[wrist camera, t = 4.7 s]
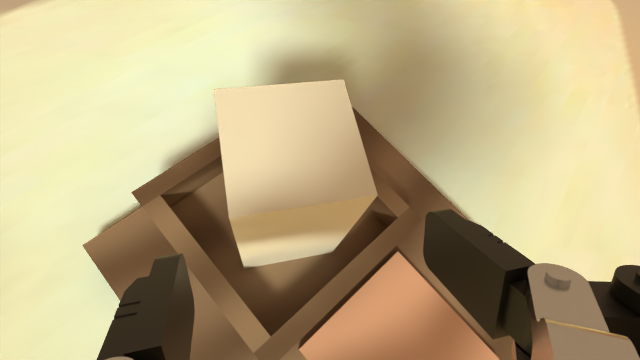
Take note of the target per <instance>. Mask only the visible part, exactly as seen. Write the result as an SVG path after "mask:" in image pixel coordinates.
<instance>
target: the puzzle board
mask: <svg viewBox="0 0 640 360" xmlns="http://www.w3.org/2000/svg"><path fill="white" fill-rule="evenodd" d="M352 109H353V113H354V116H355V119H356V123H357V126H358V130H359V133H360V136H361V140H362V143H363V147H364V150H365V153H366V157H367V160H368V164H369V167H370V170H371V174H372V177H373V181H374V184H375V187H376V191H377V194H378V195H377V197H376V198H375V199H374V200H373V202H372V203H371V204H370V206H369V207H368V208H367V209H366V211H365V212H364V213H363V214H362V216H361V217H360V218H359V219H358V221H357V222H356V223H355V224H354V226H353V227H352V228H351V229H350V231H349V232H348V233H347V234H346V236H345V237H344V238H343V239H342V241H341V242H340V243H339V244H338V246H337V247H336V248H335V250H334V251H333V252H331V253H326V254H321V255H315V256H310V257H305V258H299V259H294V260H289V261H283V262H278V263H273V264H267V265H262V266H257V267H251V268H246V269H244V266H243V263H242V260H241V256H240V253H239V250H238V247H237V243H236V240H235V237H234V233H233V230H232V227H231V223H230V220H229V214H228V206H227V197H226V189H225V181H224V172H223V164H222V155H221V147H220V139H219V138H218V139H216V140H215V141H213V142H211V143H210V144H208V145H207V146H205V147H203V148H202V149H200V150H199V151H197V152H195V153H194V154H192V155H191V156H189V157H187V158H186V159H184V160H183V161H181V162H179V163H178V164H176V165H175V166H173V167H171V168H170V169H168V170H167V171H165V172H163V173H162V174H160V175H159V176H157V177H155V178H154V179H152V180H151V181H149V182H147V183H146V184H144V185H143V186H141V187H139V188H138V189H136V190H135V191H133V192H131V193H132V194H133V195H134V196H135V198H136V199H137V200H138V202H139V203H140V204H141V206H142V207H141V208H139V209H138V210H136V211H135V212H133V213H132V214H130V215H129V216H127V217H126V218H124V219H122V220H121V221H119V222H118V223H116V224H115V225H113V226H112V227H110V228H109V229H107V230H105V231H104V232H102V233H101V234H99V235H98V236H96V237H95V238H93V239H92V240H90V241H89V242H87V243H85V244H84V245H82V246H83V247H84V248H85V250H86V251H87V253H88V254H89V256H90V257H91V259H92V260H93V262H94V263H95V264H96V266H97V267H98V269H99V270H100V272H101V273H102V275H103V276H104V278H105V279H106V281H107V282H108V283H109V285H110V286H111V288H112V289H113V291H114V292H115V294H116V295H117V297H118V298H119V299H120V301H121V299H122V296H123V294H124V291H125V290H126V289H127V288H128V287H129V286H130V285H131V284H132V283H133V282H134V281H135V280H136V279H137V278H141V277H147V276H149V274H150V271H151V268H152V265H153V262H154V259H155V258H156V257H162V256H168V255H174V254H180V253H182V254H183V255H184V258H185V262H186V266H187V270H188V275H189V279H190V284H191V288H192V292H193V298H194V307H195V316H194V326H193V335H192V344H191V353H190V360H512V350H511V349H512V343H513V338H512V337H511V336H510V335H509V336H505V337H501V338H497V339H494V340H493V339H492V338H491V337H490V336H489V335H488V334H487V333H486V331H485V330H484V329H483V328H482V327H481V326H480V325H479V324H478V323H477V321H476V320H475V319H474V318H473V317H472V316H471V315H470V314H469V313H468V312H467V310H466V309H465V308H464V307H463V306H462V305H461V304H460V303H459V302H458V300H457V299H456V298H455V297H454V296H453V295H452V294H451V293H450V292H449V291H448V289H447V288H446V287H445V286H444V285H443V284H442V283H441V282H440V281H439V279H438V278H437V277H436V276H435V275H434V274H433V273H432V272H431V271H430V270H429V268H428V267H427V265H426V263H425V260H424V256H423V244H424V230H425V218H426V215H427V213H428V212H432V211H437V210H443V209H452V210H453V211H455V212H456V213H458V214H459V215H460V216H462V217H463V218H464V219H466V218H465V217H464V216H463V215H462V214H461V213H460V212H459V211H458V210H457V209H456V208H455V207H454V206H453V205H452V204H451V203H450V202H449V201H448V200H447V199H446V198H445V197H444V196H443V195H442V194H441V193H440V192H439V191H438V190H437V189H436V188H435V187H434V186H433V185H432V184H431V183H430V182H429V181H428V180H427V179H426V178H425V177H423V176H422V175H421V174H420V173H419V172H418V171H417V170H416V169H415V168H414V167H413V166H412V165H411V164H410V163H409V162H408V161H407V160H406V159H405V158H404V157H403V156H402V155H401V154H400V153H399V152H398V151H397V150H396V149H395V148H394V147H393V146H392V145H391V144H390V143H389V142H388V141H387V140H386V139H385V138H384V137H383V136H382V135H381V134H380V133H378V132H377V131H376V130H375V129H374V128H373V127H372V126H371V125H370V124H369V123H368V122H367V121H366V120H365V119H364V118H363V117H362V116H361V115H360V114H359V113H358V112H357V111H356V110H355V109H354V108H353V107H352ZM466 220H467V219H466Z"/></svg>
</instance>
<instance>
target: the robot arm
mask: <svg viewBox="0 0 640 360" xmlns="http://www.w3.org/2000/svg"><path fill="white" fill-rule="evenodd" d="M423 256H424V260H425V263H426V265H427V267H428V268H429V270H430V271H431V272H432V273H433V274H434V275H435V276H436V277H437V278H438V279H439V281H440V282H441V283H442V284H443V285H444V286H445V287H446V288H447V289H448V291H449V292H450V293H451V294H452V295H453V296H454V297H455V298H456V299H457V300H458V302H459V303H460V304H461V305H462V306H463V307H464V308H465V309H466V310H467V312H468V313H469V314H470V315H471V316H472V317H473V318H474V319H475V320H476V321H477V323H478V324H479V325H480V326H481V327H482V328H483V329H484V330H485V331H486V333H487V334H488V335H489V336H490V337H491V338H492V339H493V340H494V339H497V338H501V337H505V336H509V335H510V336H511V337H512V338H513V343H512V349H511V350H512V360H640V266H636V265H623V266H620V267H618V268H617V269H616V270H615V273H614V276H613V279H612V282H594V281H587V280H586V279H585V278H584V277H583V276H581V275H580V274H578V273H577V272H575V271H573V270H571V269H568V268H566V267H563V266H559V265H555V264H547V263H541V264H535V263H533V262H532V261H531V260H529V259H528V258H526V257H525V256H524V255H522V254H521V253H519V252H518V251H517V250H515V249H514V248H512V247H511V246H510V245H508V244H507V243H503V241H502V240H501V239H500V238H498V237H497V236H494V235H493V233H491V232H490V231H488V230H487V229H486V228H484V227H483V226H481V225H478V224H476V223H473V222H471V221H468V220H466V219H464V218H463V217H462V216H460V215H459V214H458V213H456V212H455V211H453V210H452V209H443V210H437V211H432V212H428V213H427V215H426V218H425V230H424V244H423ZM194 316H195V307H194V298H193V292H192V288H191V284H190V279H189V275H188V270H187V266H186V262H185V258H184V255H183V254H182V253H180V254H174V255H168V256H162V257H156V258H155V259H154V262H153V265H152V268H151V271H150V274H149V276H147V277H141V278H137V279H136V280H135V281H134V282H133V283H132V284H131V285H130V286H129V287H128V288H127V289H126V290H125V291H124V294H123V296H122V299H121V301H120V303H119V308H117V311H116V313H115V316H114V320H113V321H112V323H111V326H110V328H109V331H108V333H107V336H106V338H105V341H104V343H103V345H102V348H101V350H100V353H99V355H98V358H97V360H190V353H191V344H192V335H193V326H194Z"/></svg>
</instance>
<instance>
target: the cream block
mask: <svg viewBox="0 0 640 360" xmlns="http://www.w3.org/2000/svg"><path fill="white" fill-rule="evenodd" d="M214 97H215V105H216V113H217V122H218V130H219V139H220V147H221V155H222V164H223V172H224V181H225V189H226V197H227V206H228V214H229V220H230V223H231V227H232V230H233V233H234V237H235V240H236V243H237V247H238V250H239V253H240V256H241V260H242V263H243V266H244V269H246V268H251V267H257V266H262V265H267V264H273V263H278V262H283V261H289V260H294V259H299V258H305V257H310V256H315V255H321V254H326V253H331V252H333V251H334V250H335V248H336V247H337V246H338V244H339V243H340V242H341V241H342V239H343V238H344V237H345V236H346V234H347V233H348V232H349V231H350V229H351V228H352V227H353V226H354V224H355V223H356V222H357V221H358V219H359V218H360V217H361V216H362V214H363V213H364V212H365V211H366V209H367V208H368V207H369V206H370V204H371V203H372V202H373V200H374V199H375V198H376V197H377V195H378V194H377V191H376V187H375V184H374V181H373V177H372V174H371V170H370V167H369V164H368V160H367V157H366V153H365V150H364V147H363V143H362V140H361V136H360V133H359V130H358V126H357V123H356V119H355V116H354V113H353V109H352V106H351V102H350V99H349V96H348V92H347V89H346V85H345V82H344V79H340V80H328V81H315V82H302V83H289V84H276V85H264V86H251V87H238V88H225V89H214Z"/></svg>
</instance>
